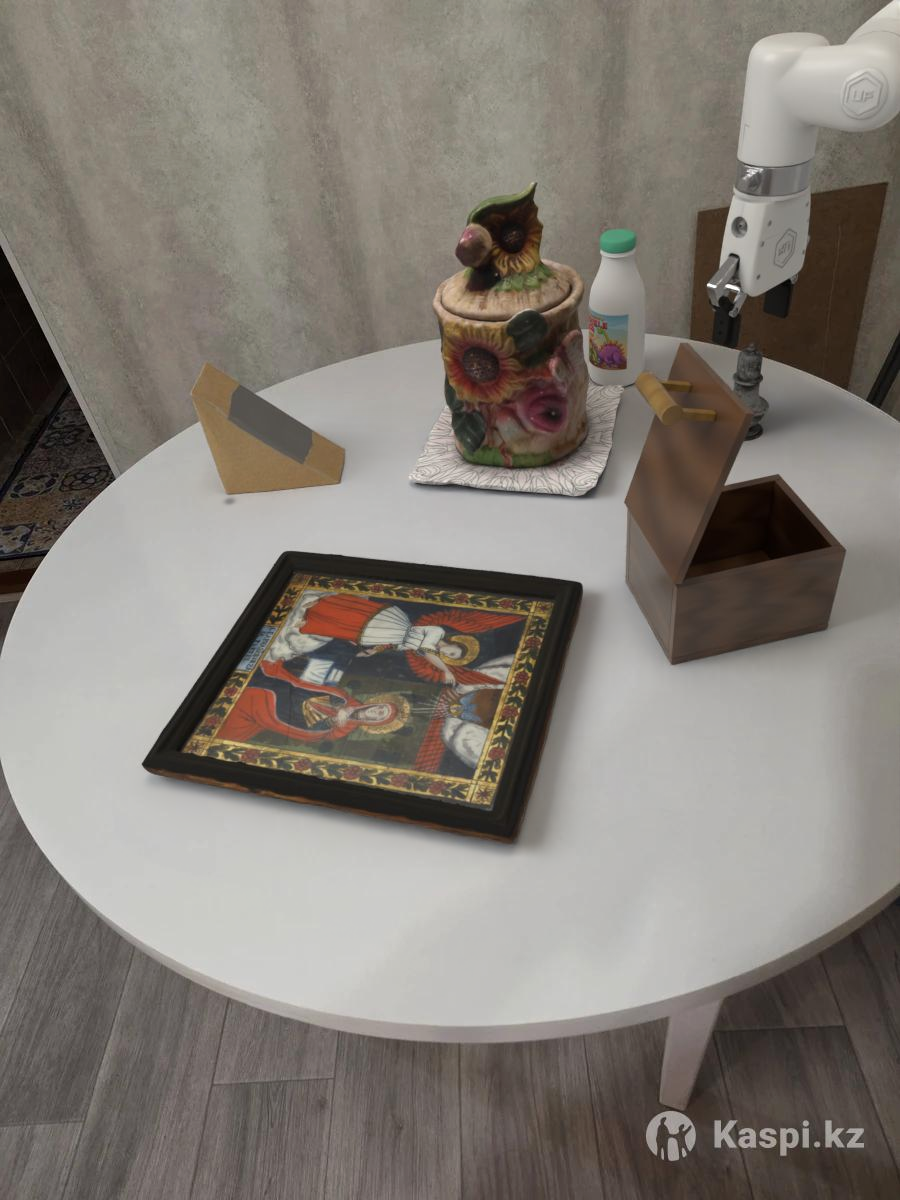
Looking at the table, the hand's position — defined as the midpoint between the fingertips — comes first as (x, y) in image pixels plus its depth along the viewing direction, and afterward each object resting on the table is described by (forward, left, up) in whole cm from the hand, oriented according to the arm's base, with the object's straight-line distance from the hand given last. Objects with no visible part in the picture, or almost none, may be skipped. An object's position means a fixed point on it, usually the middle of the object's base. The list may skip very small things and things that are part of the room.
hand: (750, 329), depth 102 cm
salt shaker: (0, 0, -14) cm, 14 cm away
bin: (+28, +18, -14) cm, 36 cm away
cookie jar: (+20, -20, -14) cm, 31 cm away
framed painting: (+59, +1, -14) cm, 60 cm away
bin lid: (+32, +16, +5) cm, 36 cm away
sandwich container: (+45, -39, -14) cm, 61 cm away
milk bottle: (-1, -22, -14) cm, 26 cm away
